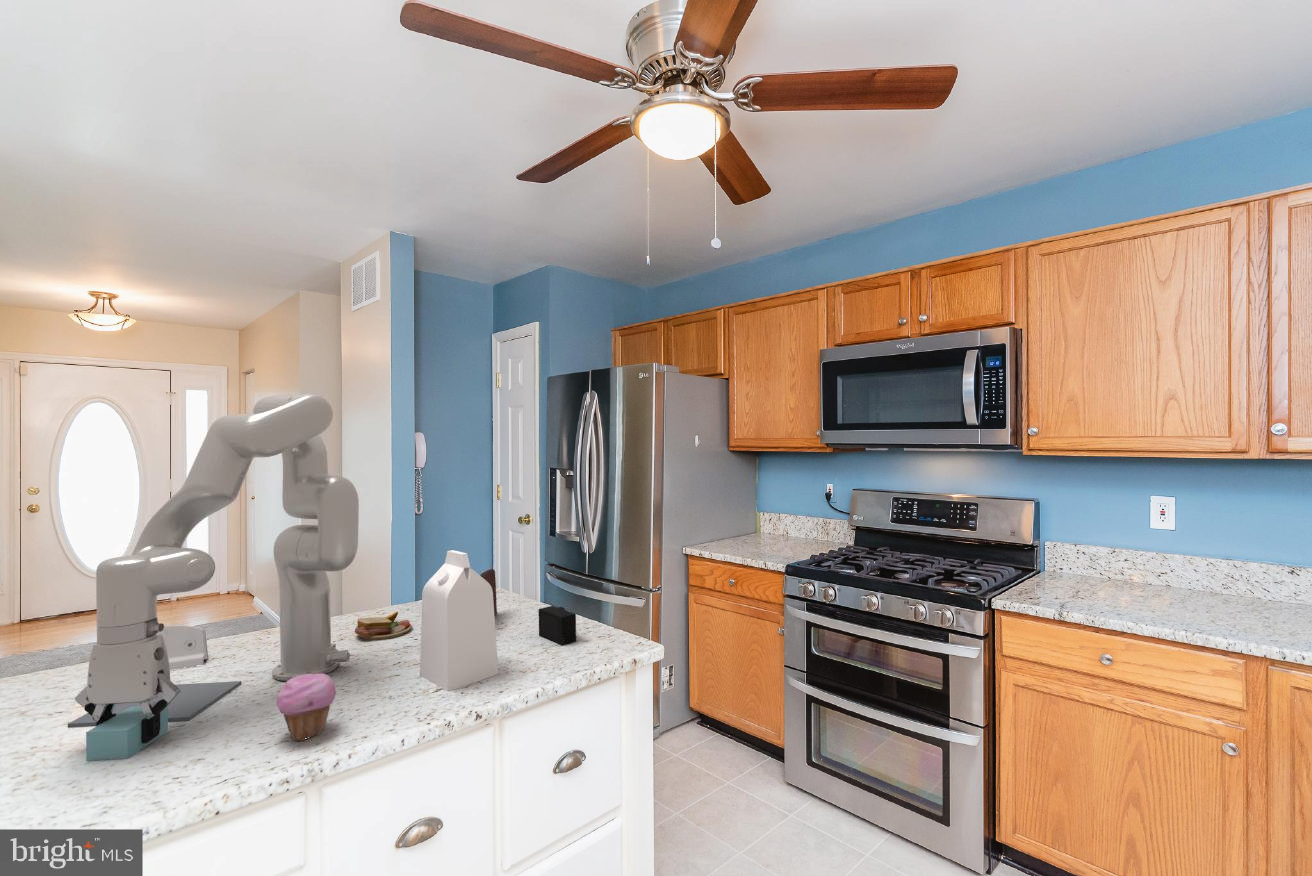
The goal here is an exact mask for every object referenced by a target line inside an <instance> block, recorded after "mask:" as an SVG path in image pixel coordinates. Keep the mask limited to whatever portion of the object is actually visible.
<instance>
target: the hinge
mask: <svg viewBox="0 0 1312 876" xmlns="http://www.w3.org/2000/svg"><path fill="white" fill-rule="evenodd" d="M157 635H163V638H164V641H165V644H166V648H167V652H168V658H169V666H170V670H172V669H179V668H180V669H179V670H182V669H181V668H184V667H192V668H194V667H193V666H197V665H203V664H205V663H204V661H206V660H209V653H208V644H207V643H208V640H207V632H206V630H205V629H204V628H202V627H199V626H191V625H183V624H182V625H181V624H179V625H176V624H175V625H164V629H163V630H162V631H161V632H158V633H157ZM203 666H204V665H203ZM172 671H173V670H172Z"/></svg>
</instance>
